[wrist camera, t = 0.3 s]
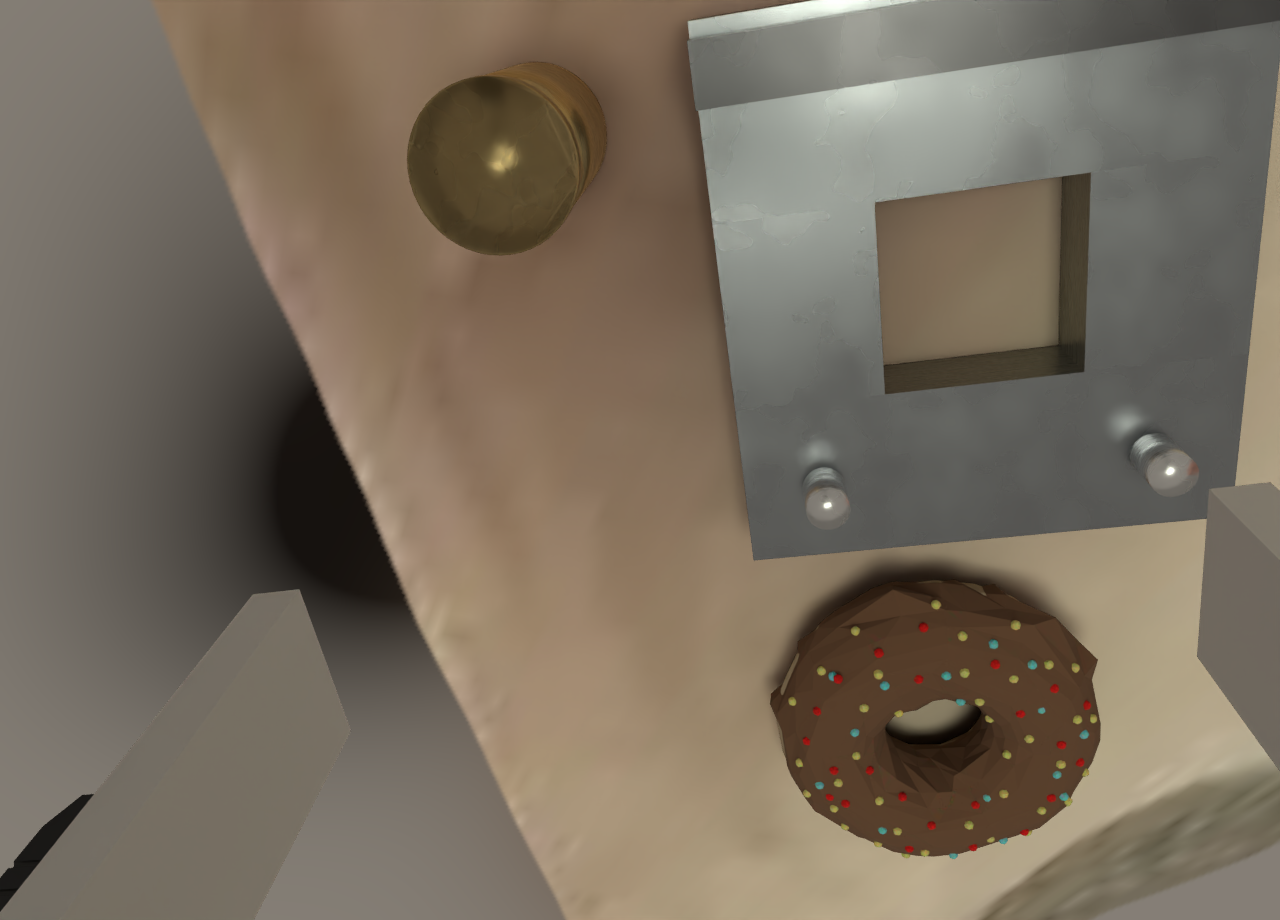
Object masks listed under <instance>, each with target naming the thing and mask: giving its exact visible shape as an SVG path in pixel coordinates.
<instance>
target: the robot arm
mask: <svg viewBox="0 0 1280 920" xmlns="http://www.w3.org/2000/svg"><path fill="white" fill-rule="evenodd" d="M1197 657H1198V659H1199V660H1200V661H1201V663H1202V664H1203V665H1204V667H1205V668H1206V670H1207V671H1208V672H1209V674H1210V675H1211V677H1212V678H1213V679H1214V681H1215V682H1216V684H1217V685H1218V686H1219V688H1220V689H1221V690H1222V692H1223V693H1224V695H1225V696H1226V697H1227V699H1228V700H1229V702H1230V703H1231V704H1232V706H1233V707H1234V709H1235V710H1236V711H1237V713H1238V714H1239V715H1240V717H1241V718H1242V720H1243V721H1244V722H1245V724H1246V725H1247V727H1248V728H1249V729H1250V731H1251V732H1252V734H1253V735H1254V736H1255V738H1256V739H1257V740H1258V742H1259V743H1260V745H1261V746H1262V747H1263V749H1264V750H1265V752H1266V753H1267V754H1268V756H1269V757H1270V758H1271V760H1272V761H1273V763H1274V764H1275V765H1276V767H1277V768H1278V770H1279V771H1280V491H1279V490H1278V489H1277V488H1276V487H1275V486H1274V485H1273V484H1272V483H1270V482H1268V483H1259V484H1250V485H1241V486H1232V487H1222V488H1213V489H1209V497H1208V511H1207V525H1206V539H1205V553H1204V567H1203V581H1202V595H1201V609H1200V623H1199V636H1198V650H1197ZM350 732H351V730H350V727H349V724H348V722H347V719H346V716H345V713H344V710H343V708H342V705H341V702H340V700H339V697H338V694H337V691H336V689H335V686H334V683H333V681H332V678H331V675H330V672H329V669H328V667H327V664H326V661H325V658H324V656H323V653H322V650H321V647H320V645H319V642H318V639H317V637H316V634H315V631H314V628H313V626H312V623H311V620H310V618H309V615H308V612H307V609H306V607H305V604H304V601H303V598H302V595H301V593H300V590H291V591H281V592H272V593H262V594H254V595H252V596H251V598H250V599H249V600H248V602H247V603H246V604H245V605H244V607H243V608H242V609H241V610H240V612H239V613H238V614H237V615H236V617H235V618H234V619H233V620H232V622H231V623H230V624H229V625H228V627H227V628H226V629H225V630H224V632H223V633H222V634H221V635H220V637H219V638H218V639H217V640H216V642H215V643H214V644H213V645H212V647H211V648H210V649H209V650H208V652H207V653H206V654H205V656H204V657H203V658H202V659H201V661H200V662H199V663H198V664H197V666H196V667H195V668H194V669H193V671H192V672H191V673H190V674H189V676H188V677H187V678H186V679H185V681H184V682H183V683H182V684H181V686H180V687H179V688H178V689H177V691H176V692H175V693H174V695H173V696H172V697H171V698H170V700H169V701H168V702H167V703H166V705H165V706H164V707H163V708H162V710H161V711H160V712H159V713H158V715H157V716H156V717H155V718H154V720H153V721H152V722H151V723H150V725H149V726H148V727H147V728H146V730H145V731H144V732H143V733H142V735H141V736H140V737H139V739H138V740H137V741H136V742H135V743H134V745H133V746H132V747H131V748H130V750H129V751H128V752H127V754H126V755H125V756H124V757H123V759H122V760H121V761H120V762H119V764H118V765H117V766H116V767H115V769H114V770H113V771H112V772H111V774H110V775H109V776H108V777H107V779H106V780H105V781H104V783H103V784H102V785H101V786H100V787H99V789H98V790H97V791H96V793H95V794H90V795H82V796H81V797H79V798H78V799H77V800H75V801H74V802H73V803H72V804H70V805H69V806H68V807H67V808H66V809H64V810H63V811H62V812H60V813H59V814H58V815H57V816H55V817H54V818H53V819H52V820H50V821H49V822H48V823H47V824H45V825H44V826H43V827H42V828H41V829H40V830H39V832H38V833H37V834H36V835H35V836H34V838H33V839H32V840H31V842H30V843H29V844H28V845H27V846H26V847H25V849H24V850H23V851H22V852H21V854H20V855H19V856H18V857H17V858H16V859H15V861H14V867H13V868H8V869H7V870H6V872H5V873H4V874H3V875H2V876H1V878H0V920H254V919H255V917H256V915H257V913H258V911H259V909H260V907H261V905H262V903H263V901H264V899H265V898H266V896H267V894H268V892H269V889H270V888H271V886H272V884H273V882H274V880H275V878H276V876H277V874H278V872H279V870H280V868H281V866H282V864H283V862H284V861H285V858H286V857H287V855H288V853H289V851H290V849H291V847H292V845H293V843H294V841H295V839H296V837H297V835H298V833H299V831H300V829H301V827H302V825H303V824H304V822H305V820H306V817H307V816H308V814H309V812H310V810H311V808H312V806H313V804H314V802H315V800H316V798H317V796H318V794H319V792H320V790H321V788H322V786H323V784H324V783H325V781H326V779H327V776H328V775H329V773H330V771H331V769H332V767H333V765H334V763H335V761H336V759H337V757H338V755H339V753H340V751H341V749H342V747H343V746H344V743H345V741H346V740H347V738H348V736H349V734H350Z"/></svg>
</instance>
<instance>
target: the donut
mask: <svg viewBox="0 0 1280 920" xmlns="http://www.w3.org/2000/svg"><path fill="white" fill-rule="evenodd" d="M1097 661H1098V659H1096V658H1095V657H1094V656H1093V655H1092V654H1091V653H1090V652H1089V651H1088V650H1087V649H1086V648H1085V647H1084V646H1083V645H1082V644H1081V643H1080V642H1079V641H1078V640H1077V639H1076V638H1075V637H1074V636H1073V635H1072V634H1071V633H1070V632H1069V631H1068V630H1067V629H1066V628H1065V627H1064V626H1063V625H1062V624H1061V623H1060V622H1059V621H1058V620H1057V619H1056V618H1055V617H1053V616H1050V615H1048V614H1046V613H1044V612H1042V611H1040V610H1037V609H1035V608H1033V607H1031V606H1029V605H1026V604H1024V603H1022V602H1020V601H1018V600H1017V599H1015V598H1014V597H1012V596H1010V595H1007V594H1006V593H1004V592H1003V591H1002V590H1001V589H1000V588H998V587H997V586H996V585H995V584H990V585H984V586H980V585H976V584H972V583H961V582H959V581H957V580H954V579H952V580H945V581H937V580H931V581H923V582H890V583H887V584H883V585H880V586H877V587H874V588H872V589H870V590H869V591H867V592H865V593H864V594H862V595H860V596H859V597H857V598H855V599H854V600H852V601H851V602H849V603H847V604H846V605H844V606H842V607H841V608H839V609H837V610H836V611H834V612H833V613H832V614H831V615H829V616H828V617H827V618H825V619H824V620H823V621H822V622H820V624H819V626H818V627H817V628H816V629H815V630H814V631H813V632H812V633H810V634H809V635H807V636H806V637H804V638H803V639H801V640H799V641H798V651H797V654H796V656H795V658H794V660H793V662H792V664H791V666H790V668H789V671H788V673H787V675H786V677H785V680H784V683H783V684H782V685H781V686H780V687H778V688H777V689H776V690H775V691H774V692H773V693H771V701H770V705H771V707H772V709H773V712H774V714H775V716H776V719H777V724H778V729H779V734H780V739H781V744H782V749H783V752H784V755H785V757H786V761H787V766H788V769H789V771H790V774H791V776H792V778H793V779H794V781H795V782H796V784H797V786H798V787H799V789H800V790H801V792H802V794H803V795H804V797H805V798H806V800H807V801H808V802H809V804H810V805H811V806H812V808H813V809H814V811H816V812H818V813H819V814H821V815H823V816H824V817H826V818H828V819H829V820H831V821H833V822H834V823H836V824H838V825H839V826H841V828H842V829H844V830H848V831H849V832H851V833H853V834H854V835H856V836H858V837H861V838H865V839H867V840H869V841H871V842H873V843H874V845H875V846H876V847H881V846H882V847H884V848H886V849H888V850H891V851H893V852H898V853H902V856H903V857H904V858H909V857H910V855H915V856H924V857H925V856H942V855H949V856H950V858H952V859H955V858H956V857H957V856H958V854H960V853H964V852H967V851H970V850H971V851H976V849H977V848H980V847H983V846H986V845H989V844H992V843H995V842H998V841H999V842H1000V843H1001V844H1005V843H1006V842H1007V841H1008V839H1007V838H1010V837H1013V836H1016V835H1019V834H1022V835H1024V836H1029V835H1031V833H1032V830H1034V829H1037V828H1040V827H1041V826H1042V825H1044V824H1045V823H1046V822H1047V821H1049V820H1050V819H1051V818H1052V817H1054V816H1055V815H1056V814H1057V813H1058V812H1060V811H1061V810H1062V809H1063V808H1065V807H1066V806H1070V805H1071V803H1072V799H1071V796H1072V794H1073V792H1074V790H1075V788H1076V787H1077V785H1078V784H1079V782H1080V781H1081V779H1082V777H1085V776H1088V775H1089V770H1088V768H1089V766H1090V765H1091V763H1092V761H1093V759H1094V756H1095V753H1096V750H1097V747H1098V745H1099V742H1100V719H1099V714H1098V709H1097V704H1096V699H1095V694H1094V689H1093V684H1092V677H1093V674H1094V671H1095V667H1096V664H1097ZM942 699H948V700H952V701H956V703H957V704H958V705H959V706H963V705H964V704H969V705H973V706H977V707H978V708H979V709H980V710H981V712H982V713H981V715H980V718H979V719H978V721H977V722H976V723H975V724H974V726H973V727H972V728H971V729H970V730H969V731H968V732H967V733H965V734H963V735H960V736H958V737H956V738H953V739H951V740H949V741H947V742H944V743H942V744H907V743H905V742H903V741H900V740H898V739H896V738H894V737H891V736H889V735H888V733H887V732H886V730H885V726H886V725H887V723H888V722H889V721H890V720H891V719H892V718H893V717H894V716H896V717H902V715H903V713H904V712H908V711H914V710H918V709H919V708H921V707H923V706H925V705H927V704H929V703H930V702H932V701H936V700H942Z"/></svg>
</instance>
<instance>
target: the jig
mask: <svg viewBox="0 0 1280 920" xmlns="http://www.w3.org/2000/svg"><path fill="white" fill-rule="evenodd" d="M688 29H689V37H690V38H689V40H688V41H687V45H688V53H689V61H690V69H691V77H692V85H693V93H694V101H695V109H696V111H699V119H700V127H701V135H702V143H703V151H704V159H705V168H706V176H707V184H708V192H709V200H710V208H711V216H712V225H713V233H714V241H715V249H716V257H717V265H718V274H719V282H720V290H721V298H722V306H723V314H724V322H725V331H726V339H727V347H728V355H729V363H730V371H731V380H732V388H733V396H734V404H735V412H736V420H737V428H738V437H739V445H740V453H741V461H742V469H743V477H744V486H745V494H746V502H747V510H748V518H749V526H750V535H751V543H752V551H753V559H754V560H763V559H774V558H785V557H796V556H807V555H817V554H828V553H839V552H850V551H861V550H872V549H883V548H893V547H904V546H915V545H926V544H937V543H948V542H959V541H969V540H980V539H991V538H1002V537H1013V536H1024V535H1035V534H1045V533H1056V532H1067V531H1078V530H1089V529H1100V528H1111V527H1121V526H1132V525H1143V524H1154V523H1165V522H1176V521H1187V520H1197V519H1207V511H1208V497H1209V489H1213V488H1222V487H1232V486H1235V479H1236V470H1237V460H1238V451H1239V441H1240V432H1241V422H1242V413H1243V403H1244V394H1245V384H1246V375H1247V365H1248V356H1249V346H1250V337H1251V327H1252V318H1253V308H1254V299H1255V289H1256V280H1257V270H1258V261H1259V251H1260V242H1261V232H1262V223H1263V213H1264V204H1265V194H1266V185H1267V175H1268V166H1269V156H1270V147H1271V137H1272V128H1273V119H1274V109H1275V100H1276V90H1277V81H1278V71H1279V62H1280V0H805V1H800V2H794V3H788V4H782V5H776V6H770V7H764V8H758V9H752V10H746V11H740V12H734V13H728V14H722V15H716V16H710V17H704V18H698V19H692V20H689V21H688ZM1054 177H1062V219H1061V265H1060V310H1059V345H1058V346H1049V347H1041V348H1032V349H1024V350H1015V351H1006V352H998V353H989V354H981V355H972V356H964V357H955V358H946V359H938V360H929V361H921V362H912V363H904V364H895V365H886V366H883V350H882V331H881V313H880V295H879V277H878V259H877V241H876V222H875V204H874V202H881V201H888V200H896V199H903V198H910V197H917V196H924V195H932V194H939V193H946V192H953V191H961V190H968V189H975V188H982V187H989V186H997V185H1004V184H1011V183H1018V182H1025V181H1033V180H1040V179H1047V178H1054Z"/></svg>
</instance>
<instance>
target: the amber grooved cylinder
mask: <svg viewBox="0 0 1280 920" xmlns="http://www.w3.org/2000/svg"><path fill="white" fill-rule="evenodd" d="M606 144H607V131H606V123H605V118H604V115H603V112H602V109H601V106H600V104H599V102H598V100H597V98H596V97H595V95H594V94H593V92H592V91H591V90H590V88H589V87H588V86H587V85H586V84H585V83H584V82H583V81H582V80H581V79H580V78H579V77H577V76H576V75H574V74H573V73H571V72H570V71H568V70H566V69H564V68H562V67H559V66H557V65H554V64H549V63H544V62H529V63H523V64H518V65H515V66H512V67H508V68H505V69H502V70H499V71H496V72H492V73H489V74H486V75H481V76H475V77H471V78H467V79H464V80H461V81H458V82H456V83H453V84H451V85H450V86H448V87H446V88H444V89H443V90H441V91H440V92H439V93H438V94H436V95H435V96H434V97H433V98H432V99H431V100H430V101H429V102H428V103H427V104H426V105H425V107H424V108H423V110H422V111H421V112H420V114H419V116H418V118H417V120H416V122H415V124H414V126H413V129H412V132H411V135H410V139H409V144H408V153H407V165H408V174H409V179H410V184H411V187H412V190H413V193H414V195H415V198H416V200H417V202H418V204H419V206H420V208H421V209H422V211H423V213H424V214H425V215H426V217H427V218H428V219H429V221H430V222H431V223H432V224H433V225H434V226H435V227H436V228H437V229H438V230H439V231H440V232H441V233H442V234H443V235H445V236H446V237H447V238H448V239H450V240H451V241H453V242H455V243H456V244H458V245H460V246H462V247H464V248H466V249H469V250H472V251H475V252H478V253H483V254H488V255H511V254H516V253H521V252H524V251H527V250H529V249H532V248H534V247H536V246H538V245H540V244H541V243H543V242H544V241H545V240H547V239H548V238H549V237H551V236H552V235H553V234H554V233H555V232H556V231H557V230H558V229H559V227H560V226H561V225H562V224H563V222H564V221H565V220H566V218H567V217H568V215H569V213H570V212H571V210H572V208H573V206H574V205H575V203H576V202H577V200H578V199H579V198H580V196H581V195H582V194H583V192H584V191H585V190H586V188H587V187H588V186H589V184H590V183H591V181H592V180H593V179H594V177H595V176H596V174H597V172H598V171H599V169H600V167H601V164H602V162H603V159H604V155H605V151H606Z"/></svg>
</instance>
